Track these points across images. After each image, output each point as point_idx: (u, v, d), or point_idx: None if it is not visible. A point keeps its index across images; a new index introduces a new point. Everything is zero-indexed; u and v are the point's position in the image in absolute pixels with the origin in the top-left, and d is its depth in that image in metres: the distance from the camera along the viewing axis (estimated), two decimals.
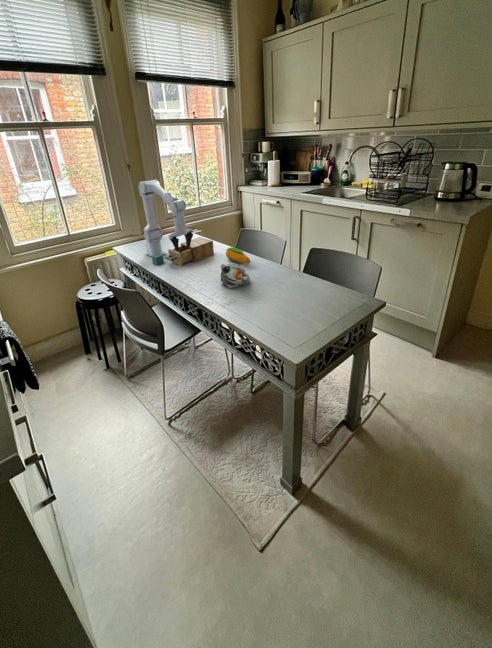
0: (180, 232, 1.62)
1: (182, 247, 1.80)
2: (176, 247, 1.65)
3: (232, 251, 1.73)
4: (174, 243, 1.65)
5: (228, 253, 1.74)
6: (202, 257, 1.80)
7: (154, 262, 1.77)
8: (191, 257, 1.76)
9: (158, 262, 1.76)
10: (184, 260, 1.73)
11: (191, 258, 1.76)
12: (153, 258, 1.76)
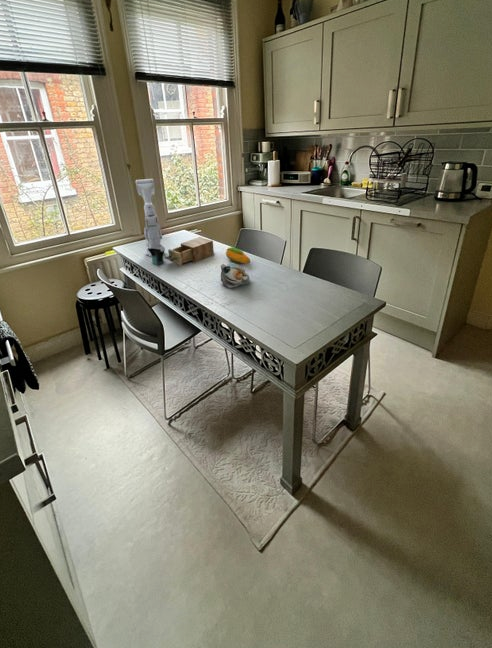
0: (150, 244, 1.74)
1: (182, 247, 1.80)
2: None
3: (232, 251, 1.73)
4: (155, 252, 1.79)
5: (228, 253, 1.74)
6: (202, 257, 1.80)
7: (154, 262, 1.77)
8: (191, 257, 1.76)
9: (158, 262, 1.76)
10: (184, 260, 1.73)
11: (191, 258, 1.76)
12: (153, 258, 1.76)
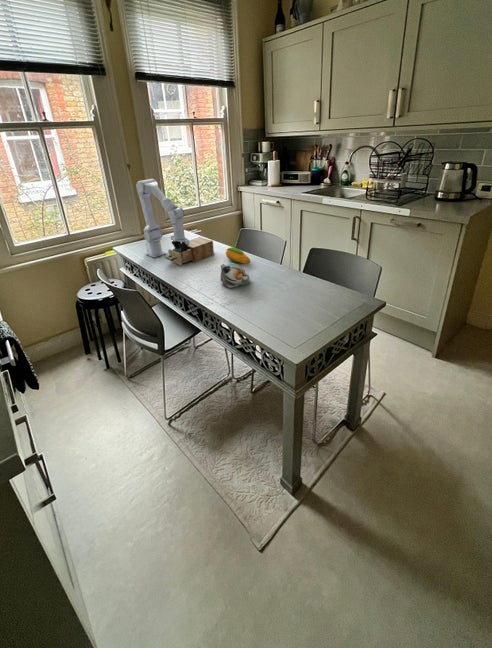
0: (174, 237, 1.72)
1: None
2: None
3: (232, 251, 1.73)
4: (178, 246, 1.77)
5: (228, 253, 1.74)
6: (202, 257, 1.80)
7: None
8: (191, 257, 1.76)
9: None
10: (184, 260, 1.73)
11: (191, 258, 1.76)
12: (176, 251, 1.75)
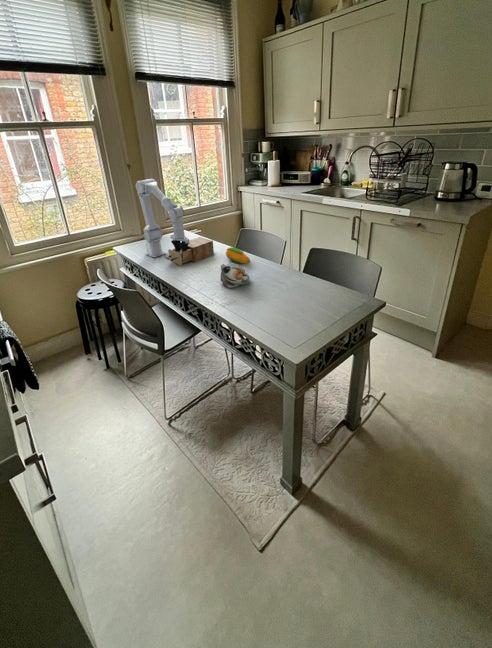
0: (174, 236, 1.72)
1: None
2: None
3: (232, 251, 1.73)
4: None
5: (228, 253, 1.74)
6: (202, 257, 1.80)
7: None
8: (191, 257, 1.76)
9: None
10: (184, 260, 1.73)
11: (191, 258, 1.76)
12: None
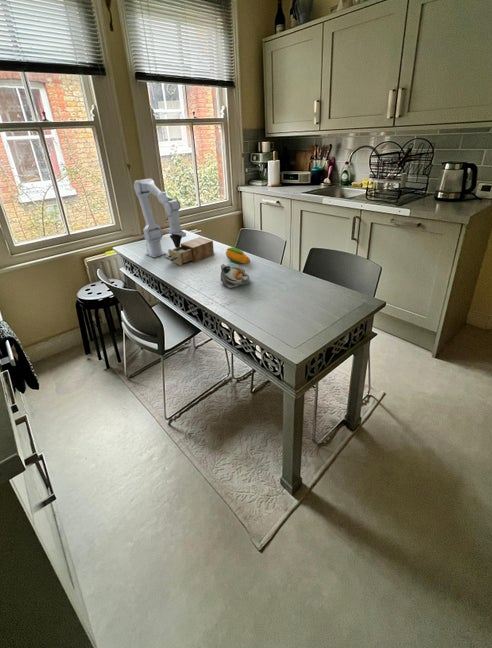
0: (170, 230, 1.69)
1: (182, 247, 1.80)
2: None
3: (232, 251, 1.73)
4: None
5: (228, 253, 1.74)
6: (202, 257, 1.80)
7: None
8: (191, 257, 1.76)
9: None
10: (184, 260, 1.73)
11: (191, 258, 1.76)
12: None
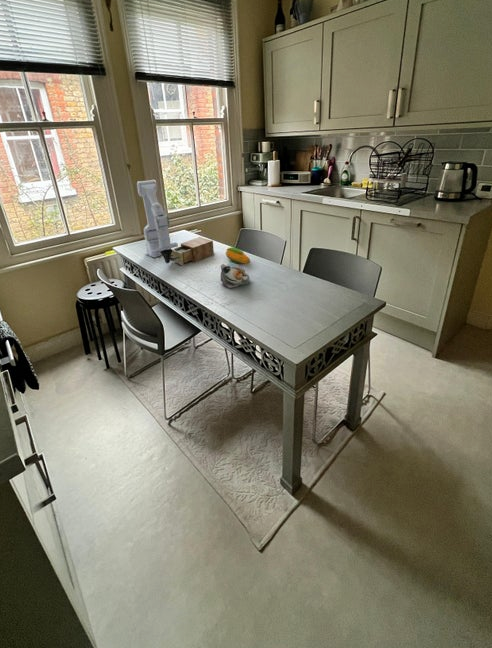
0: (164, 247, 1.64)
1: (183, 247, 1.81)
2: (166, 259, 1.69)
3: (232, 251, 1.73)
4: (164, 256, 1.69)
5: (228, 253, 1.74)
6: (202, 257, 1.80)
7: None
8: (192, 257, 1.76)
9: None
10: (185, 260, 1.73)
11: (192, 258, 1.77)
12: None
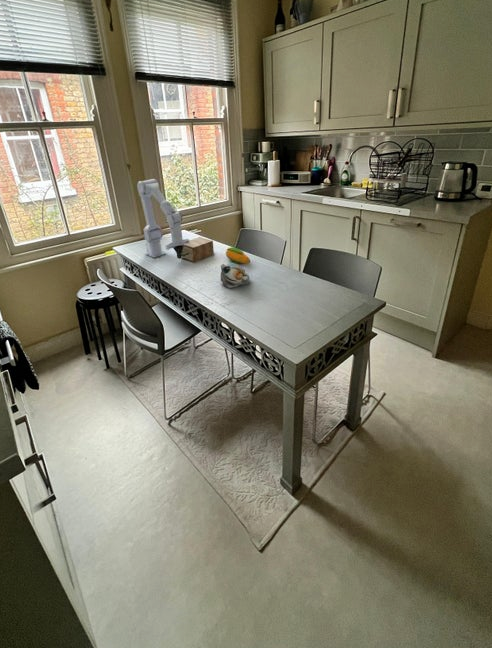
0: (177, 243, 1.69)
1: None
2: None
3: (232, 251, 1.73)
4: None
5: (228, 253, 1.74)
6: (202, 257, 1.80)
7: None
8: None
9: None
10: None
11: None
12: None
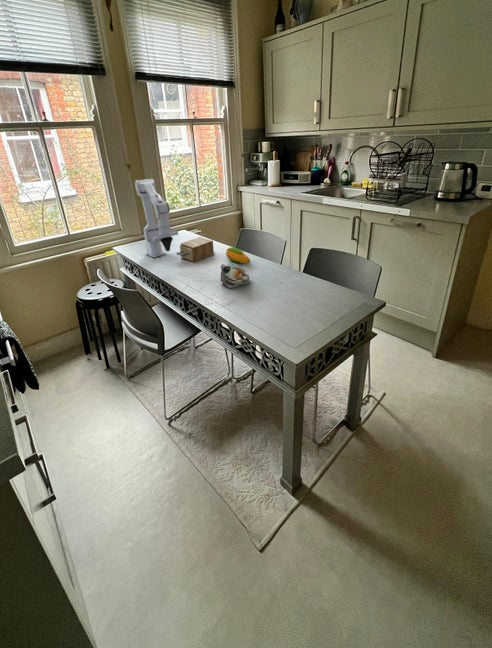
0: (164, 234, 1.62)
1: None
2: (166, 247, 1.67)
3: (232, 251, 1.73)
4: (164, 243, 1.67)
5: (228, 253, 1.74)
6: (202, 257, 1.80)
7: None
8: None
9: None
10: None
11: None
12: None
